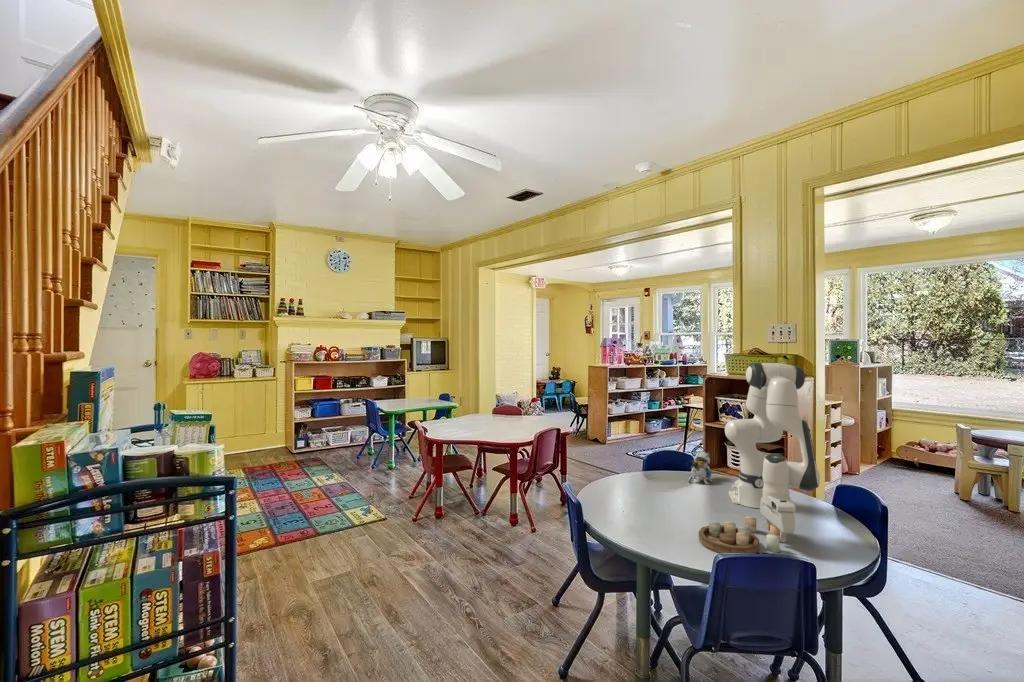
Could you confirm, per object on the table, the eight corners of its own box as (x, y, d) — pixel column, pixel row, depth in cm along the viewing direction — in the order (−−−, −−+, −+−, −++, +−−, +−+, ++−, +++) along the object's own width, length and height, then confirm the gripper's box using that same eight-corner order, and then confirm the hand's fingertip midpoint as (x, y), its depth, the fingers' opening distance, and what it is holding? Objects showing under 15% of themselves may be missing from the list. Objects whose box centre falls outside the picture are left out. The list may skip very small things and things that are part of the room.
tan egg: (743, 528, 185) (743, 516, 185) (753, 529, 184) (753, 516, 184) (747, 532, 181) (747, 520, 181) (758, 533, 180) (758, 520, 180)
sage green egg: (764, 547, 168) (764, 533, 168) (776, 548, 167) (776, 534, 167) (769, 552, 164) (769, 538, 164) (781, 553, 163) (781, 539, 163)
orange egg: (768, 537, 176) (768, 524, 176) (779, 538, 176) (779, 524, 176) (772, 542, 172) (772, 528, 172) (784, 542, 172) (784, 529, 172)
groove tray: (692, 531, 182) (692, 517, 182) (745, 533, 180) (745, 519, 180) (708, 555, 162) (708, 539, 162) (768, 557, 160) (768, 541, 160)
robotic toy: (718, 479, 250) (718, 451, 250) (706, 487, 237) (706, 457, 238) (695, 474, 259) (694, 448, 259) (682, 481, 246) (681, 453, 246)
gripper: (755, 489, 185) (755, 524, 185) (779, 508, 164) (780, 547, 164) (772, 490, 184) (772, 524, 184) (798, 508, 164) (798, 547, 164)
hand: (776, 535), depth 174 cm, fingers open, 8 cm apart
